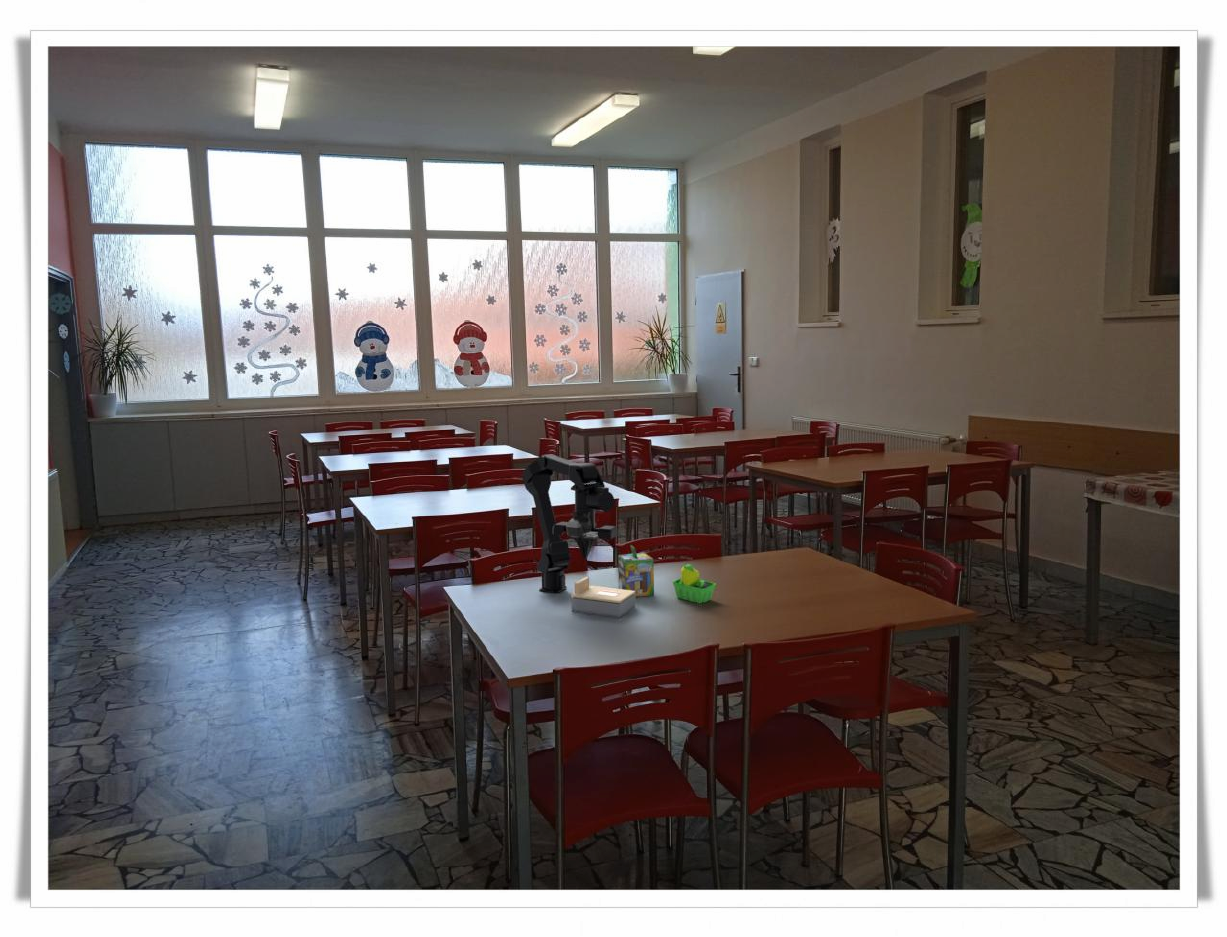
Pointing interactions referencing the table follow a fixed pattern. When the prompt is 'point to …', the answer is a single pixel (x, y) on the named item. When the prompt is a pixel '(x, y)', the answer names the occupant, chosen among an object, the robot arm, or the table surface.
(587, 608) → the grey shallow rectangular container
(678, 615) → the table surface
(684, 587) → the fruit basket
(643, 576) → the chalk box
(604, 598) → the lid
